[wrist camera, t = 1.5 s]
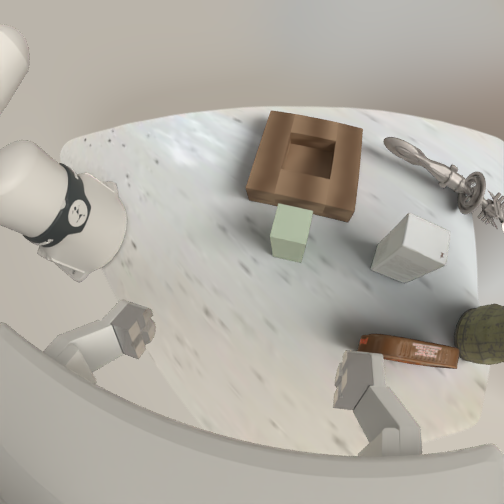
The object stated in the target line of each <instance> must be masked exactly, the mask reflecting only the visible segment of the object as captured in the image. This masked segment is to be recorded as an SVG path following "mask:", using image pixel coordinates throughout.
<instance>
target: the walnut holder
mask: <svg viewBox="0 0 504 504" xmlns="http://www.w3.org/2000/svg"><path fill="white" fill-rule="evenodd" d="M362 132H363V129H361V128H358V127H354V126H350V125H346V124H341V123H337V122H333V121H328V120H323V119H318V118H313V117H308V116H303V115H297V114H291V113H285V112H278V111H271V112H270V115H269V118H268V121H267V124H266V127H265V130H264V133H263V136H262V139H261V142H260V145H259V148H258V151H257V154H256V157H255V160H254V163H253V166H252V169H251V173H250V176H249V179H248V182H247V185H246V191H247V195H248V198H249V200H250V201H255V202H260V203H265V204H270V205H274V206H278V203H279V204H284V205H289V206H293V207H298V208H302V209H307V210H311V211H313V214H315V215H319V216H324V217H328V218H332V219H336V220H340V221H344V222H349V220H350V218H351V217H352V215H353V213H354V211H355V204H356V196H357V188H358V179H359V169H360V159H361V147H362Z"/></svg>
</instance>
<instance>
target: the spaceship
mask: <svg viewBox="0 0 504 504" xmlns="http://www.w3.org/2000/svg"><path fill="white" fill-rule="evenodd" d="M384 145H385V146H386V148H387V149H388V150H389V151H391V152H392V153H393V154H395V155H396V156H398V157H400V158H402V159H404V160H405V161H407V162H409V163H411V164H413V165H420V166H422V167H424V168H426V169H427V170H428V171H429V172H430V173H431V174H432V175H433V176H434V177H435V178H436V179H437V180H438V181H440V182H439V183H438V184H439V186H440V187H442V188H443V189H444V188H445V187H446V186H448V187H450V188H451V189H453V190H454V192H457V193H459V196H458V208H459V210H460V212H461V213H462V214H470V213H472V212H473V211H475V210H476V208H477V207H478V206H479V205H481V204H482V212H481V213H480V214H479V216H478V218H479V219H480V218H481V217H482V216H483V215H485V216H484V217H483V218H482V219H481V220H482V221H485V219H487V221H486V222H485V223H486V224H488V223H490V222H491V223H492V221H493V223H494V225H495V227H496V228H497V226H496V224H495V222H494V220H493V217H494V218H496V219H498V218H499V220H500V222H501V223H502V229H503V232H504V209H503V208H504V202H503V203H502V204H501V202H502V201H503V199H504V196H502V197H501V198H500V199H499V200H498V198H499V197H500V195H501V194H500V193H498V194H497V195H496V196H494V195H493V194H492V195H493V196H492V195H491V193H490V192H489V191H488V192H489V193H490V195H491V196H492V199H493V201H492V200H490V199H488V200H485V199H484V198H483V197H484V194H485V189H486V181H485V178H484V176H483V174H482V173H480V172H473V173H472V174H470V175H469V176H468V177H467V178H466V179H465V178H464V177H463V176H461V175H459V174H458V173H457V171H458V168H457V167H456V166H455V165H451V166H450V168H449V167H447V166H446V165H444V164H441V163H438V162H435V161H432V160H430V159H428V158H427V157H426V156H425V155H424V154H423V152H422V151H421V150H420V149H418V148H416V147H415V146H413V145H411V144H409V143H408V142H406V141H404V140H401V139H398V138H394V137H387V138H385V139H384ZM475 176H477V177H475ZM472 182H473V183H476V185H475V186H474V185H473V183H472ZM471 183H472V184H471ZM471 185H472V186H473V187H472V188H471V187H470V186H471ZM465 194H467V197H466V195H465ZM469 197H470V198H471V199H470V198H469ZM493 197H494V198H493ZM468 198H469V200H470V201H468V202H467V203H466V200H467V199H468ZM497 200H498V201H497ZM489 216H490V217H489ZM491 220H492V221H491ZM493 223H492V225H493ZM494 225H493V226H494Z"/></svg>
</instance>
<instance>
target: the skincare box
mask: <svg viewBox="0 0 504 504" xmlns="http://www.w3.org/2000/svg"><path fill="white" fill-rule="evenodd" d="M449 240H450V231H448V230H446V229H444V228H442V227H440V226H438V225H435V224H433V223H431V222H429V221H427V220H424V219H422V218H420V217H418V216H415V215H413V214H411V213H408V214H407V215H406V216H405V217H404V218H403V219H402V220H401V222H400V223H399V224H398V225H397V226H396V227H395V228H394V229H393V230H392V231H391V232H390V233H389V234H388V235H387V236H386V237H385V238H384V239H383V240H382V241H381V242H380V243H379V244H378V245H377V249H376V253H375V256H374V259H373V263H372V266H371V270H372V271H375V272H377V273H380V274H382V275H385V276H387V277H390V278H392V279H395V280H398V281H400V282H403V283H407V282H409V281H412V280H414V279H416V278H419V277H421V276H423V275H425V274H428V273H430V272H432V271H434V270H437V269H439V268H441V267H443V266H445V265H446V262H447V254H448V247H449Z"/></svg>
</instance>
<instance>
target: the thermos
mask: <svg viewBox="0 0 504 504" xmlns="http://www.w3.org/2000/svg"><path fill="white" fill-rule="evenodd" d="M455 347H456V348H458V349H459V357H461V358H462V359H463V360H465V361H470V362H473V363H478V364H486V365H492V364H498V363H501V362H504V306H501V305H498V304H491V305H485V306H480V307H478V308H474V309H470V310H468V311H466V312H465V313H464V314H463V315H462V317H461V318H460V320H459V322H458V324H457V326H456V331H455Z"/></svg>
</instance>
